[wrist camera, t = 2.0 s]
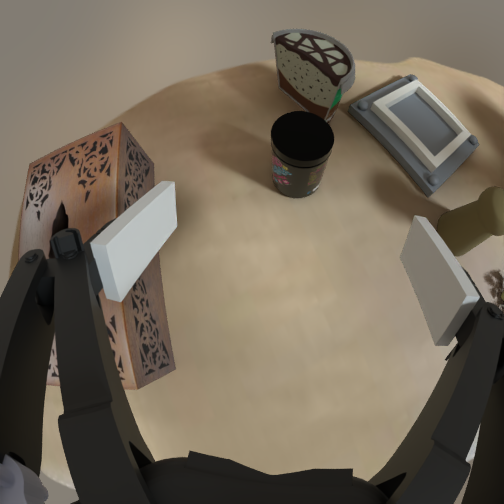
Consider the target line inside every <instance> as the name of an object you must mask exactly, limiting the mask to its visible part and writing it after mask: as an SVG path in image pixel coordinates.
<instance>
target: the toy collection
mask: <svg viewBox="0 0 504 504" xmlns="http://www.w3.org/2000/svg"><path fill="white" fill-rule="evenodd" d="M501 298H502V299H503V301H504V290H503V292H502V294H501ZM502 306H504V304H502ZM499 309H501V304H500V307H499Z"/></svg>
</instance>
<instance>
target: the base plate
mask: <svg viewBox="0 0 504 504" xmlns="http://www.w3.org/2000/svg"><path fill="white" fill-rule="evenodd" d="M348 112H349V113H350V114H351V115H352V116H354V117H355V118H356V119H357V120H358V121H359V122H360V123H361V124H362V125H363V126H364V127H365V128H366V129H367V130H368V131H369V132H370V133H371V134H372V135H373V136H374V137H375V138H376V139H377V140H378V141H379V142H380V143H381V144H382V145H383V146H384V147H385V148H386V149H387V150H388V151H389V152H390V153H391V154H392V155H393V157H394V158H395V159H396V160H397V161H398V162H399V163H400V164H401V165H402V167H403V168H404V169H405V170H406V171H407V172H408V173H409V175H410V176H411V177H412V178H413V179H414V181H415V182H416V183H417V184H418V185H419V187H420V188H421V189H422V190H423V192H424V193H425V194H426V195H427V197H429V196H430V195H432V194H433V193H434V192H435V191H436V190H437V189H438V188H439V187H440V186H441V185H442V184H443V183H444V182H445V181H446V180H447V179H448V178H449V177H450V176H451V175H452V174H453V173H454V172H455V170H456V169H457V168H458V167H459V166H460V165H461V164H462V163H463V162H464V161H465V160H466V159H467V158H468V157H469V156H470V154H471V153H472V152H473V151H474V150H475V149H476V148H477V147H478V146H479V143H478V140H477V138H476V137H475V136H474V135H471V134H470V132H469V131H468V130H467V129H466V128H465V127H464V126H463V124H462V123H461V122H460V121H459V120H458V119H457V118H456V117H455V116H454V115H453V114H452V112H451V111H450V110H449V109H448V108H447V107H446V106H445V105H444V104H443V103H442V102H441V101H440V100H439V99H438V98H437V97H436V96H434V95H433V94H432V93H431V92H430V91H429V90H428V89H427V88H426V87H425V86H424V85H423V84H421V83H420V82H419V81H418V78H417V77H416V76H415V75H411V74H410V75H408V76H406V77H404V78H402V79H400V80H398V81H395V82H393V83H391V84H389V85H387V86H385V87H383V88H381V89H379V90H377V91H375V92H374V93H372V94H370V95H368V96H366V97H364V98H362V99H360V100H358V101H356V102H355V103H353V104H351V105H350V107H349V110H348Z"/></svg>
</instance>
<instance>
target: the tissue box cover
mask: <svg viewBox="0 0 504 504" xmlns="http://www.w3.org/2000/svg"><path fill="white" fill-rule="evenodd" d="M152 188H154V163H153V162H152V161H151V159H150V158H149V157H148V156H147V154H146V153H145V152H144V150H143V149H142V148H141V146H140V145H139V144H138V142H137V141H136V140H135V139H134V137H133V136H132V135H131V133H130V132H129V131H128V129H127V128H126V127H125V125H124V124H123V123H122V122H120V123H117V124H115V125H112V126H110V127H107V128H104V129H102V130H99V131H97V132H95V133H92V134H90V135H88V136H85V137H83V138H81V139H79V140H76V141H74V142H72V143H70V144H68V145H66V146H63V147H61V148H59V149H57V150H55V151H53V152H51V153H50V154H48V155H45V156H44V157H42V158H40V159H38V160H36V161H34V162H32V163H31V164H30V165H29V169H28V175H27V180H26V186H25V192H24V198H23V206H22V214H21V224H20V236H19V254H18V261H19V260H20V258H21V257H22V256H23V255H24V254H25V253H26V252H28V251H29V250H34V249H41V250H43V252H44V254H45V257H46V259H52V258H56V257H55V254H54V251H53V248H52V245H51V242H50V240H51V238H52V237H53V236H54V235H55V234H56V233H57V232H59V231H61V230H64V229H68V228H76V229H78V230H79V231H80V234H81V238H82V242H83V244H84V243H85V242H86V241H87V240H88V239H89V238H90V237H91V236H93V235H94V234H96V232H97V231H98V230H99V229H101V227H103V226H104V225H105V224H106V223H107V222H109V221H111V220H113V219H115V218H118V217H119V216H120V215H121V214H123V213H124V212H125V211H126V210H127V209H128V208H129V207H131V206H132V205H133V204H134V203H135V202H137V201H138V200H139V199H140V198H141V197H143V196H144V195H145V194H146V193H148V192H149V191H150V190H151V189H152ZM99 297H100V300H101V305H102V310H103V314H104V319H105V323H106V328H107V332H108V336H109V340H110V344H111V348H112V351H113V355H114V359H115V362H116V366H117V369H118V372H119V376H120V379H121V382H122V385H123V388H124V390H138V389H140V388H142V387H144V386H145V385H147V384H149V383H151V382H153V381H155V380H157V379H159V378H161V377H163V376H164V375H166V374H168V373H170V372H172V371H174V370H175V369H176V367H175V362H174V357H173V351H172V346H171V340H170V334H169V328H168V321H167V315H166V308H165V301H164V293H163V285H162V277H161V268H160V259H159V251H158V252H157V253H156V255H155V256H154V257H153V259H152V260H151V261H150V263H149V264H148V265H147V267H146V268H145V269H144V271H143V272H142V273H141V275H140V276H139V278H138V279H137V280H136V282H135V283H134V285H133V286H132V287H131V289H130V290H129V292H128V293H127V295H126V296H125V297H124V299H123V300H122V302H118V301H114V300H110V299H107V298H106V295H105V292H104V289H102V290H101V291H100V292H99ZM46 385H53V386H60V381H59V374H58V365H57V355H56V342H55V335H54V340H53V345H52V350H51V356H50V362H49V368H48V375H47V382H46Z"/></svg>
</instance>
